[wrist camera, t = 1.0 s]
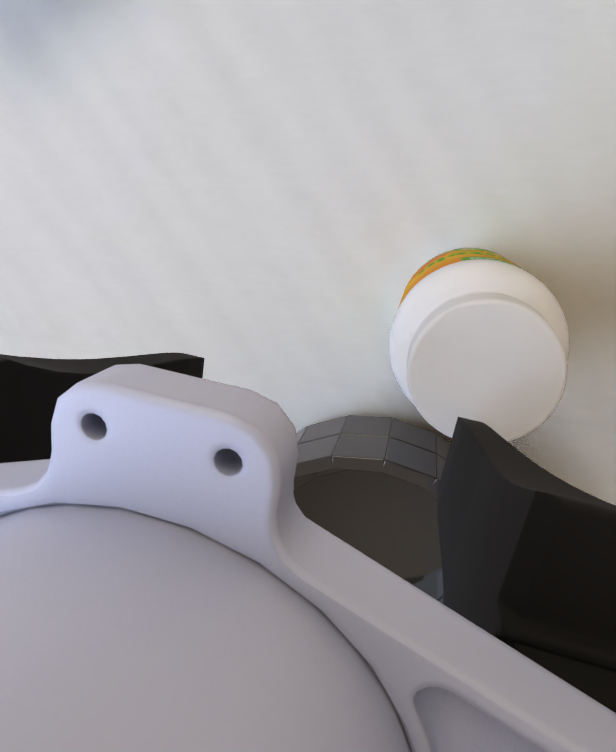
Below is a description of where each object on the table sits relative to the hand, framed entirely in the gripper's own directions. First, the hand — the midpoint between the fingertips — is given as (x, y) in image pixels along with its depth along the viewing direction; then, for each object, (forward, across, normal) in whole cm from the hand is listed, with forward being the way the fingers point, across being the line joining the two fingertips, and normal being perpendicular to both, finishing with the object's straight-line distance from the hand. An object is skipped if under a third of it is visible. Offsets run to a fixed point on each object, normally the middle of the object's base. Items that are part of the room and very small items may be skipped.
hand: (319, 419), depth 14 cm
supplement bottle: (+10, -4, -2) cm, 11 cm away
